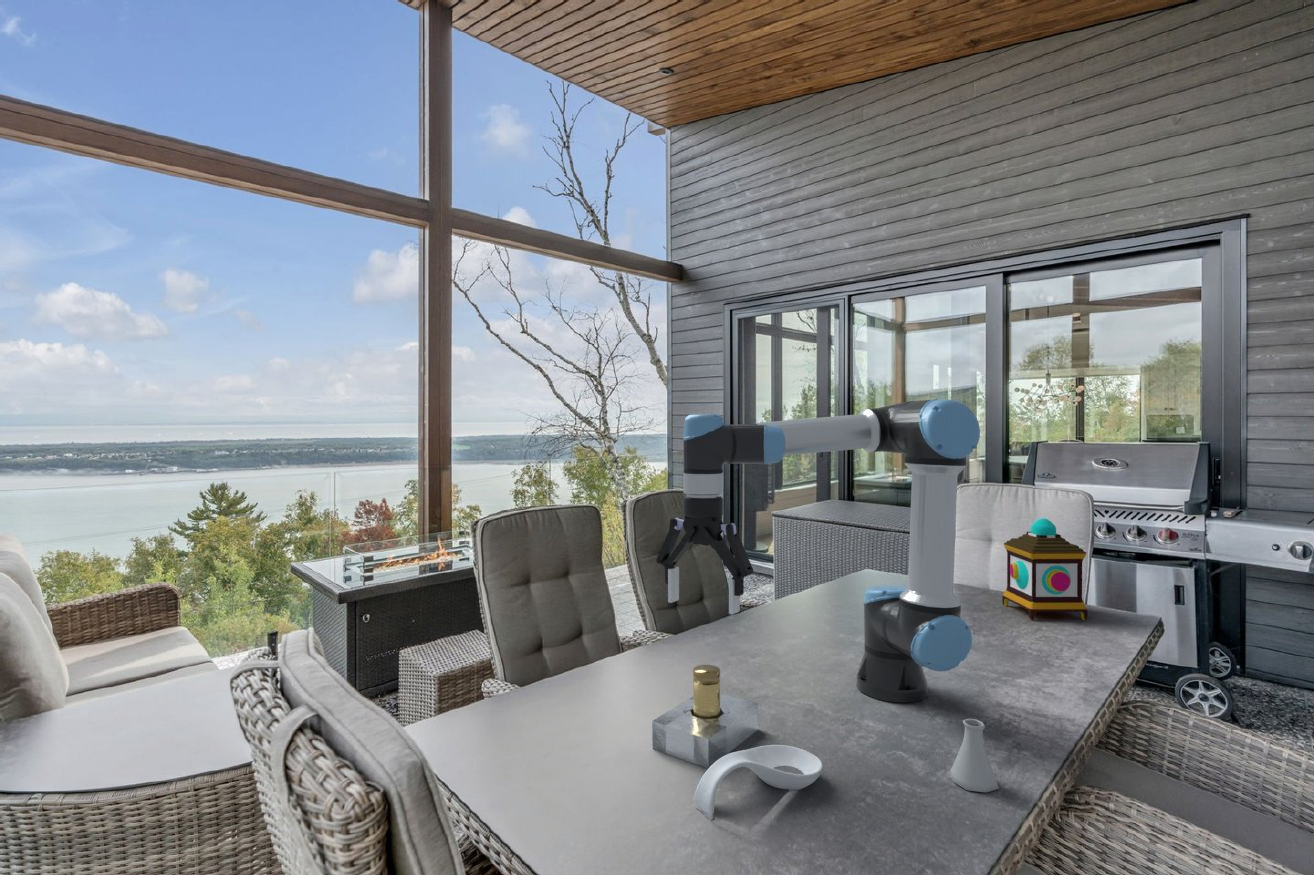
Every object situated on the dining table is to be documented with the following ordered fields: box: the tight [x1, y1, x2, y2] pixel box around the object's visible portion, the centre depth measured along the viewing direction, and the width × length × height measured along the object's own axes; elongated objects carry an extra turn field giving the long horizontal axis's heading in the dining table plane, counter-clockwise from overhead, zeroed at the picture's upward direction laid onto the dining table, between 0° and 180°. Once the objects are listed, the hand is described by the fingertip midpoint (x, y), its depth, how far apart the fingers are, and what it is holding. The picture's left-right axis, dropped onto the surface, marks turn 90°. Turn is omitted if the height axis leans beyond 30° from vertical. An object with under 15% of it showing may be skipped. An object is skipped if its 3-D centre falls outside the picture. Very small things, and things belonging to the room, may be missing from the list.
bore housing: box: [651, 692, 759, 770], centre depth 123 cm, size 12×18×6 cm, turn 143°
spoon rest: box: [693, 744, 824, 821], centre depth 107 cm, size 24×12×7 cm, turn 123°
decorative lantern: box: [1001, 517, 1089, 621], centre depth 208 cm, size 20×20×30 cm
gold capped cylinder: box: [692, 664, 721, 719], centre depth 123 cm, size 5×5×13 cm
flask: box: [949, 718, 1000, 793], centre depth 110 cm, size 7×7×10 cm
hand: (702, 606), depth 125 cm, fingers open, 13 cm apart
